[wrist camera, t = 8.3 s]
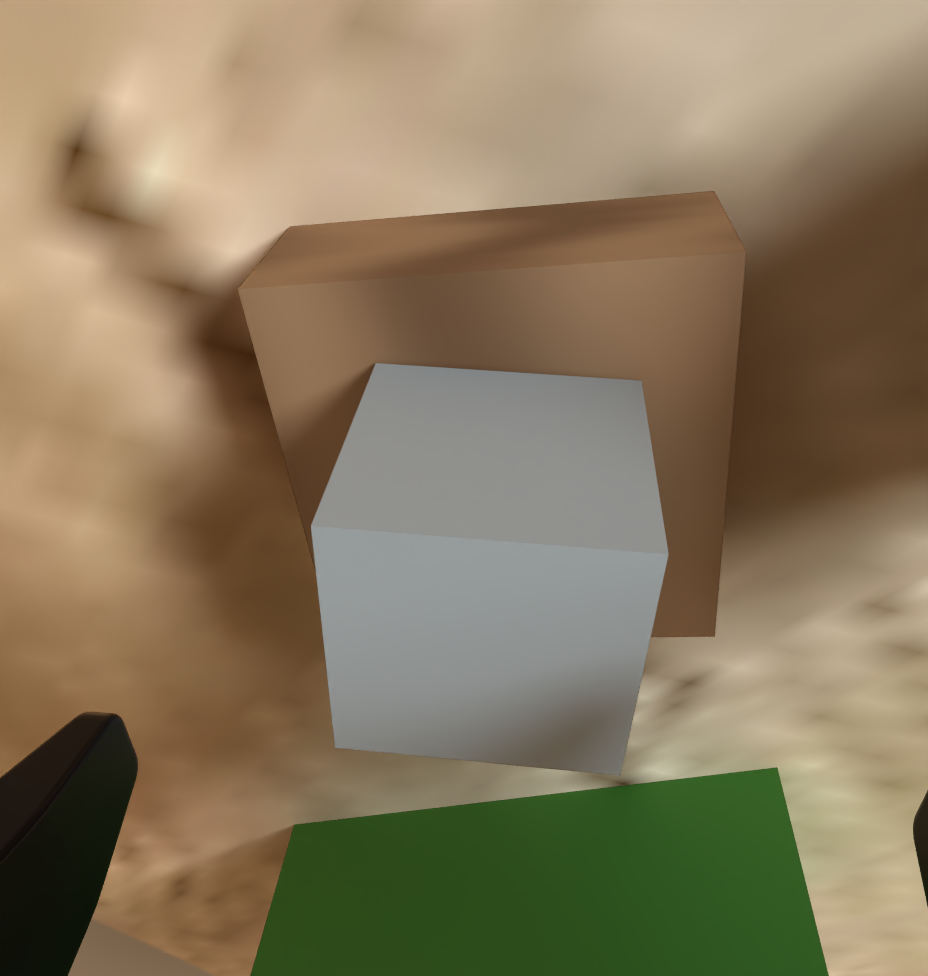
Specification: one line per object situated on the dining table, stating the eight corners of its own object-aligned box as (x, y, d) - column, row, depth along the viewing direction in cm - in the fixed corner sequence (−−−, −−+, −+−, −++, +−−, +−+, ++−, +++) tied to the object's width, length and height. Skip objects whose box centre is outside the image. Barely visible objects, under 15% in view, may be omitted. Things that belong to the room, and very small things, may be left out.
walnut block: (711, 186, 17) (745, 252, 14) (692, 529, 22) (715, 636, 19) (294, 221, 19) (237, 289, 15) (365, 538, 24) (334, 640, 20)
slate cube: (641, 380, 15) (668, 554, 11) (608, 581, 18) (620, 775, 14) (375, 363, 16) (311, 526, 12) (384, 562, 19) (334, 748, 15)
